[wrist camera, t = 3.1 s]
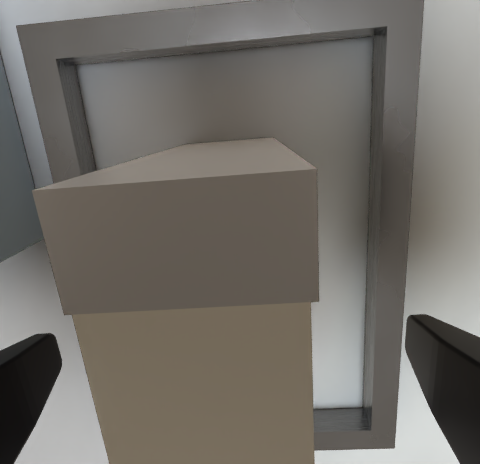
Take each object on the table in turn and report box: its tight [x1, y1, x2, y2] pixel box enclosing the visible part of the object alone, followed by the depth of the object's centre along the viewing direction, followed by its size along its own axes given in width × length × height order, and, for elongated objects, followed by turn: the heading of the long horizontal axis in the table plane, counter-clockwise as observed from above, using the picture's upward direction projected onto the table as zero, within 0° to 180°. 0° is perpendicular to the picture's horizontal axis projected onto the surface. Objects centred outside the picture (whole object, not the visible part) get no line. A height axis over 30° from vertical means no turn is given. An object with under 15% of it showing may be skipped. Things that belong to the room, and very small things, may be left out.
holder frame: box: [16, 0, 424, 450], centre depth 13 cm, size 12×17×1 cm
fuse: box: [32, 137, 319, 464], centre depth 9 cm, size 3×9×9 cm, turn 5°
